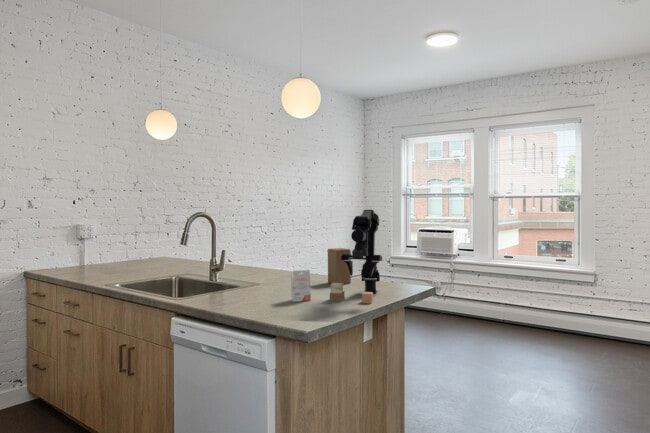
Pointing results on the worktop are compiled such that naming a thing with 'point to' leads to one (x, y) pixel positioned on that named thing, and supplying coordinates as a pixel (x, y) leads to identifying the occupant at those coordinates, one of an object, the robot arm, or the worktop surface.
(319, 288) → the worktop surface
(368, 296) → the terracotta block
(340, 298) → the tower base
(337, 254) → the wooden block
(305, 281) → the ink cartridge box
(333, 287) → the tower middle
